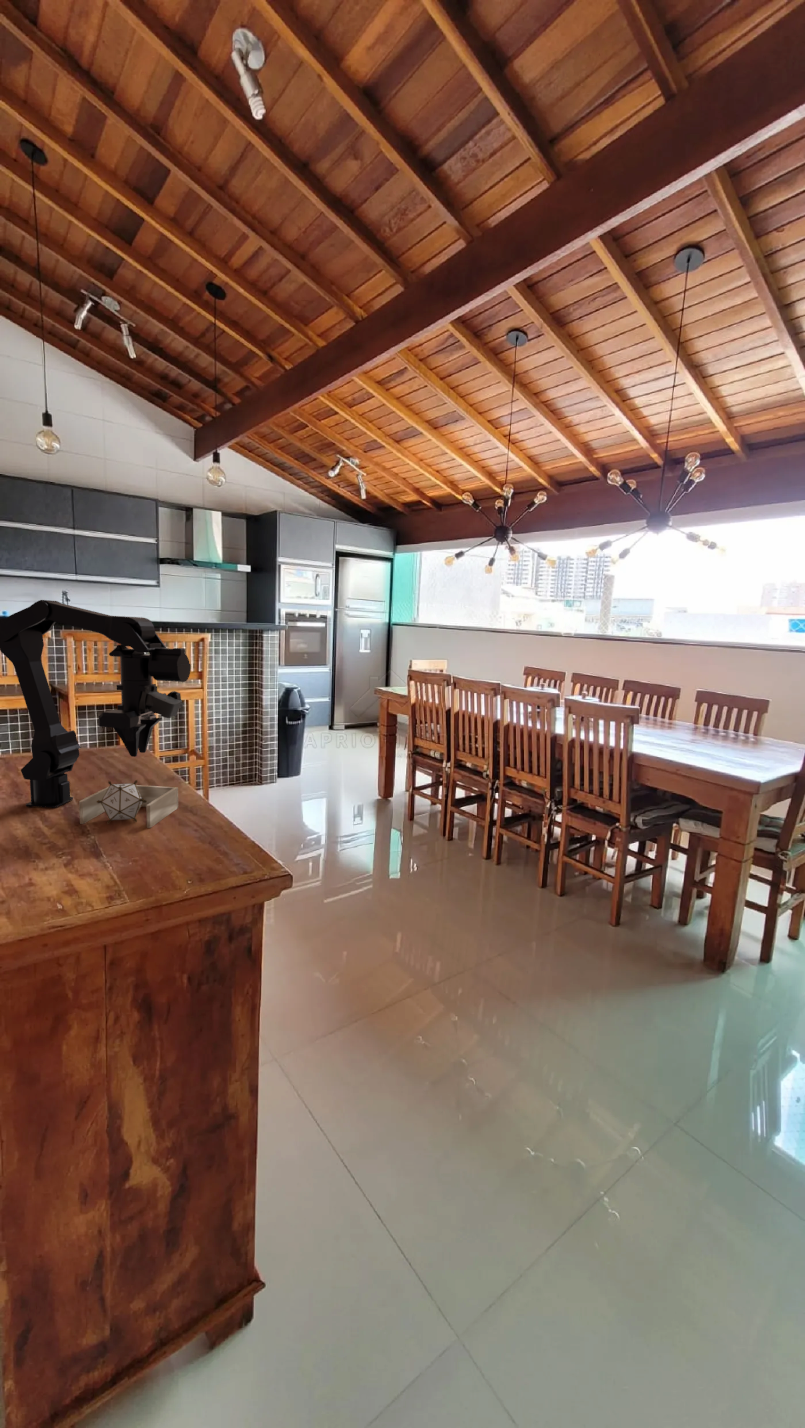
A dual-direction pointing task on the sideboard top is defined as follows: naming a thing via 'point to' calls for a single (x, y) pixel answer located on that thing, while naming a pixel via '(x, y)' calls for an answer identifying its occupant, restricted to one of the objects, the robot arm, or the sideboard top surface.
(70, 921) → the sideboard top surface
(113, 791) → the game die
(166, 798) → the cubby
